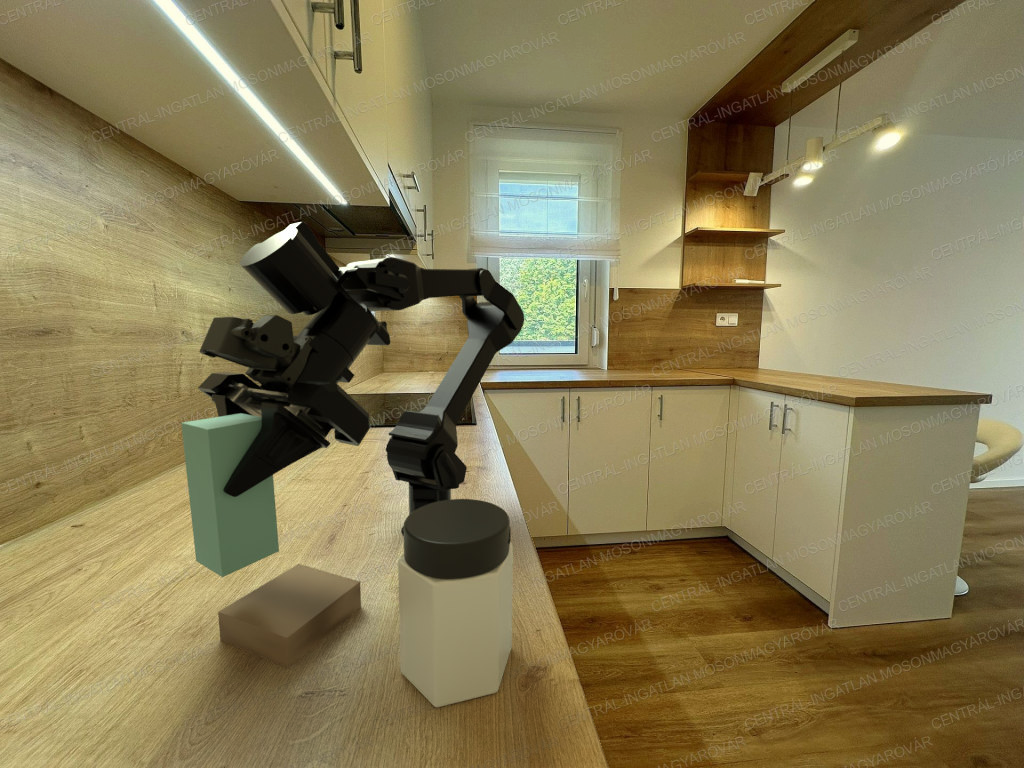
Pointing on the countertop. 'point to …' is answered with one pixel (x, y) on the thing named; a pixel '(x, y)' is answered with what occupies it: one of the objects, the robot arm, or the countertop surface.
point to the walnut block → (289, 614)
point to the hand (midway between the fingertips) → (213, 488)
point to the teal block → (216, 515)
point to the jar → (455, 599)
